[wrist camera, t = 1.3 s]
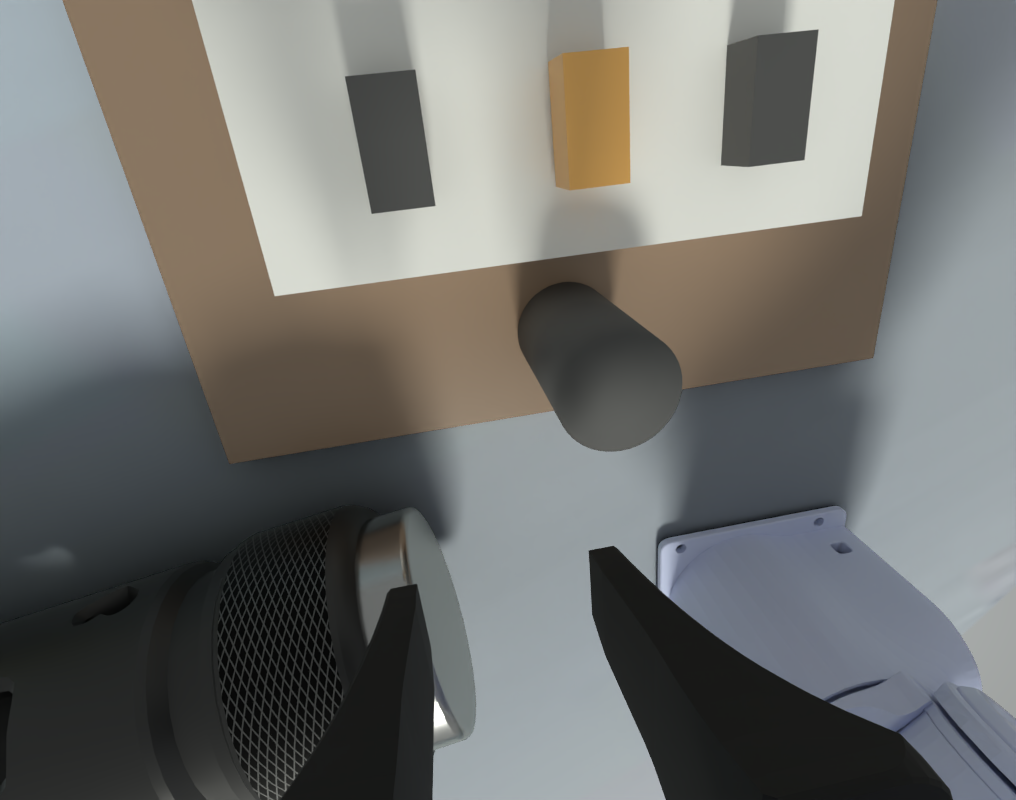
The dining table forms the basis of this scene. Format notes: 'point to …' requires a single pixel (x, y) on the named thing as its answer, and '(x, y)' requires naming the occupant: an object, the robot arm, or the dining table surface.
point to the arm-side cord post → (599, 367)
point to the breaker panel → (462, 310)
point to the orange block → (590, 118)
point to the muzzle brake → (220, 665)
